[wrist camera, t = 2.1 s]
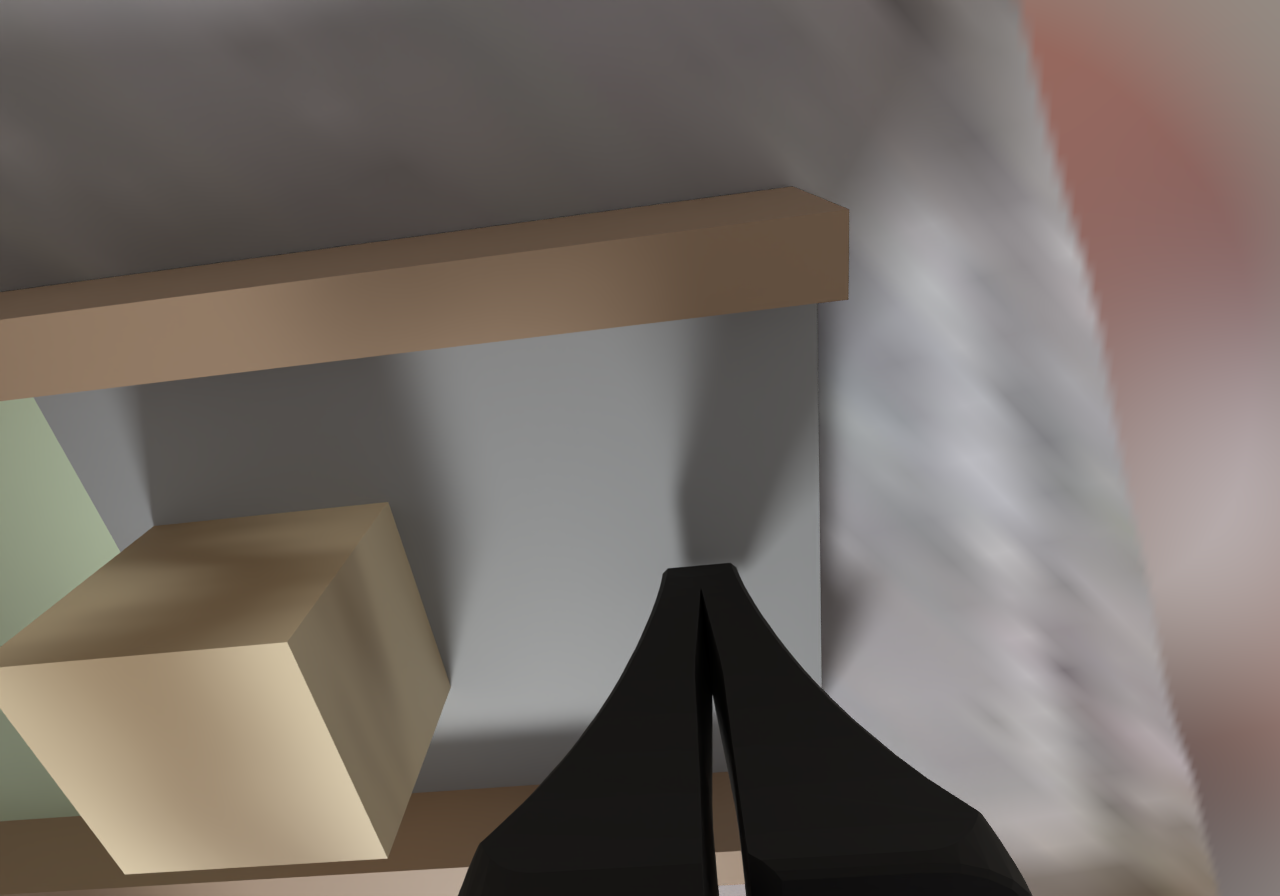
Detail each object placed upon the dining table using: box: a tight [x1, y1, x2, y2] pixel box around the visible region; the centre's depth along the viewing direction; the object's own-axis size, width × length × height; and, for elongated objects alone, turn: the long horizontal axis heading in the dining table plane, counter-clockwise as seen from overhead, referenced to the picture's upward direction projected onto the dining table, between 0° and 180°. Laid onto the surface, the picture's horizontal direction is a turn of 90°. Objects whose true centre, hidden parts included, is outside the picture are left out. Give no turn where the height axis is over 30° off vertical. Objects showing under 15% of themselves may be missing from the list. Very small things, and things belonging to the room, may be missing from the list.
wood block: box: [0, 502, 451, 874], centre depth 13 cm, size 5×5×4 cm
